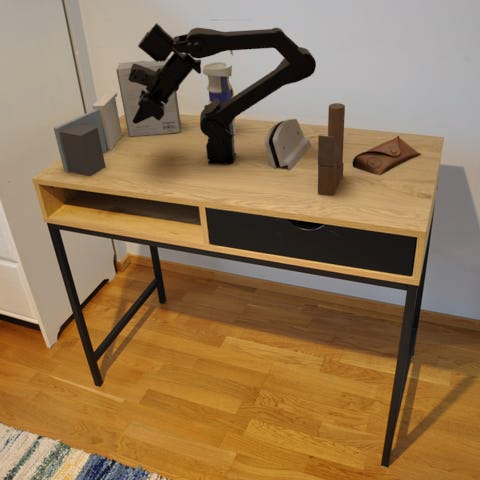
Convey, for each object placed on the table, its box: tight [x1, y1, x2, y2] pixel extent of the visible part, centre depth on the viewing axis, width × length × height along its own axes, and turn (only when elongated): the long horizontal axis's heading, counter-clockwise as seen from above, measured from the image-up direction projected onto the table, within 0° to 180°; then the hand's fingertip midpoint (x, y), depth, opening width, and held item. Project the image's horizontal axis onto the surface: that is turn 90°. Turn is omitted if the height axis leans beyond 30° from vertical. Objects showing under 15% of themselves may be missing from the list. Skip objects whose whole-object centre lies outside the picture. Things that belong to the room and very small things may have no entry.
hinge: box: [264, 118, 312, 171], centre depth 144 cm, size 17×5×10 cm, turn 156°
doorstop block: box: [60, 124, 106, 177], centre depth 143 cm, size 7×6×11 cm
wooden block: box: [317, 102, 346, 197], centre depth 125 cm, size 4×11×18 cm, turn 159°
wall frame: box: [92, 92, 123, 151], centre depth 157 cm, size 3×11×13 cm, turn 172°
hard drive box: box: [115, 57, 182, 137], centre depth 162 cm, size 16×8×20 cm, turn 94°
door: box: [53, 109, 109, 173], centre depth 148 cm, size 3×16×12 cm, turn 148°
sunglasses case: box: [352, 135, 422, 177], centre depth 139 cm, size 18×7×7 cm
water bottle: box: [202, 50, 237, 136], centre depth 155 cm, size 8×9×25 cm
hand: (134, 122), depth 139 cm, fingers closed
